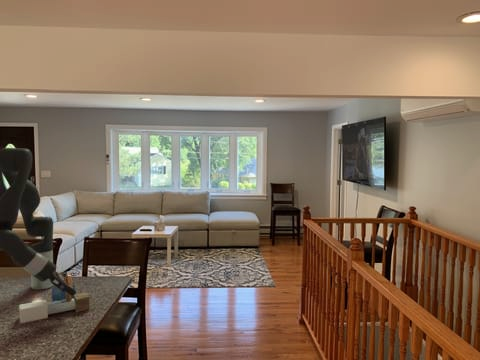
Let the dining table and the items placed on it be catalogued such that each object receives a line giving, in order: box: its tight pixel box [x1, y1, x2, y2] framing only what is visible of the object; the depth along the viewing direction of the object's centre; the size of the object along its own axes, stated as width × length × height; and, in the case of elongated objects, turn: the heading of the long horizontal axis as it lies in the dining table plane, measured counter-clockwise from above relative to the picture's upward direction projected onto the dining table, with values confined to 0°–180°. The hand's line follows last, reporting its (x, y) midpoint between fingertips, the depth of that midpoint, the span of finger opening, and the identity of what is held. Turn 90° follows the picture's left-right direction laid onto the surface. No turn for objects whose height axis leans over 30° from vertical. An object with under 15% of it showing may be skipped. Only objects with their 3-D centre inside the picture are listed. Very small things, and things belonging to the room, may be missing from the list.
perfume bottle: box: [51, 271, 76, 302], centre depth 155 cm, size 6×6×12 cm
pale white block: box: [18, 299, 49, 324], centre depth 138 cm, size 5×9×5 cm, turn 123°
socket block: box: [74, 292, 90, 313], centre depth 147 cm, size 5×5×5 cm
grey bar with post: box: [47, 274, 76, 315], centre depth 143 cm, size 3×16×13 cm, turn 123°
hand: (72, 290), depth 145 cm, fingers open, 8 cm apart
